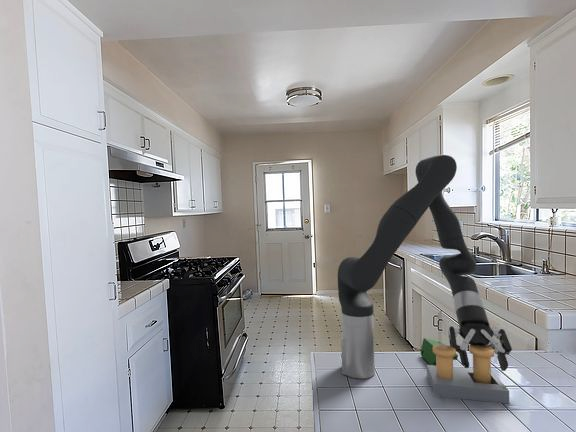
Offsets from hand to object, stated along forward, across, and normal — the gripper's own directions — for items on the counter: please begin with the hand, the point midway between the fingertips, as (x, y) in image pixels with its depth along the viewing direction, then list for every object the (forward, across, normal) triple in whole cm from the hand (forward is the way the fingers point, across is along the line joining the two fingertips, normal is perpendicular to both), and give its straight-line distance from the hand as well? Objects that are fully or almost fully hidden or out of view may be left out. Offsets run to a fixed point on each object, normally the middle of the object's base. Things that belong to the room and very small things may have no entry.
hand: (485, 368), depth 83 cm
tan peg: (+3, 0, +6) cm, 6 cm away
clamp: (-7, -8, +16) cm, 19 cm away
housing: (+3, -5, +5) cm, 8 cm away
